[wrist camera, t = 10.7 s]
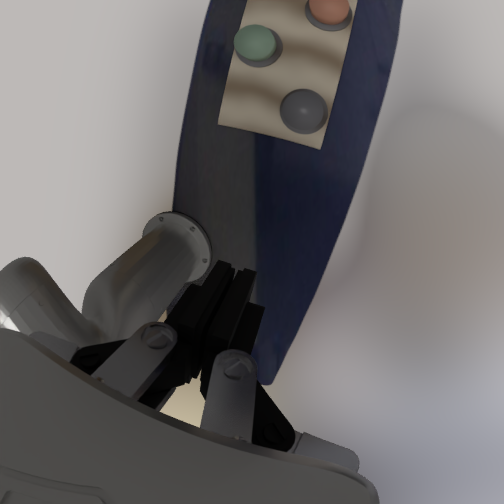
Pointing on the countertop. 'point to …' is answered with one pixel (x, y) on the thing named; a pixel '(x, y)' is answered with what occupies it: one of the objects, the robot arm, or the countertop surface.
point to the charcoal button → (302, 110)
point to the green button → (255, 42)
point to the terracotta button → (329, 10)
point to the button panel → (286, 70)
